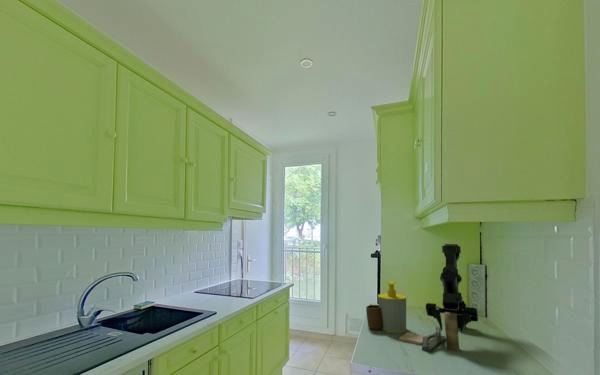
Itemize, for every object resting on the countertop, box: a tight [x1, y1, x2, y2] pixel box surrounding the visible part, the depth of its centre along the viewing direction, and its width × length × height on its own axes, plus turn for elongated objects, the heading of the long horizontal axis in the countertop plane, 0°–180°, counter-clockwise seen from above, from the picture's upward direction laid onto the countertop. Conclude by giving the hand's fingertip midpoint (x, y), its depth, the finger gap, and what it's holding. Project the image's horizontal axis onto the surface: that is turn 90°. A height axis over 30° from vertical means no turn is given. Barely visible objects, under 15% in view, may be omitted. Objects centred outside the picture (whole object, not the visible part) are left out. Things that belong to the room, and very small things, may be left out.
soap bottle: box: [377, 281, 407, 334], centre depth 145 cm, size 13×13×21 cm
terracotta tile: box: [399, 332, 425, 346], centre depth 128 cm, size 9×9×1 cm
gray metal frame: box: [421, 326, 446, 353], centre depth 123 cm, size 19×3×4 cm, turn 139°
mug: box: [365, 304, 383, 331], centre depth 147 cm, size 12×8×9 cm, turn 1°
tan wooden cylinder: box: [443, 312, 460, 352], centre depth 119 cm, size 4×4×13 cm
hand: (451, 331), depth 118 cm, fingers open, 7 cm apart
